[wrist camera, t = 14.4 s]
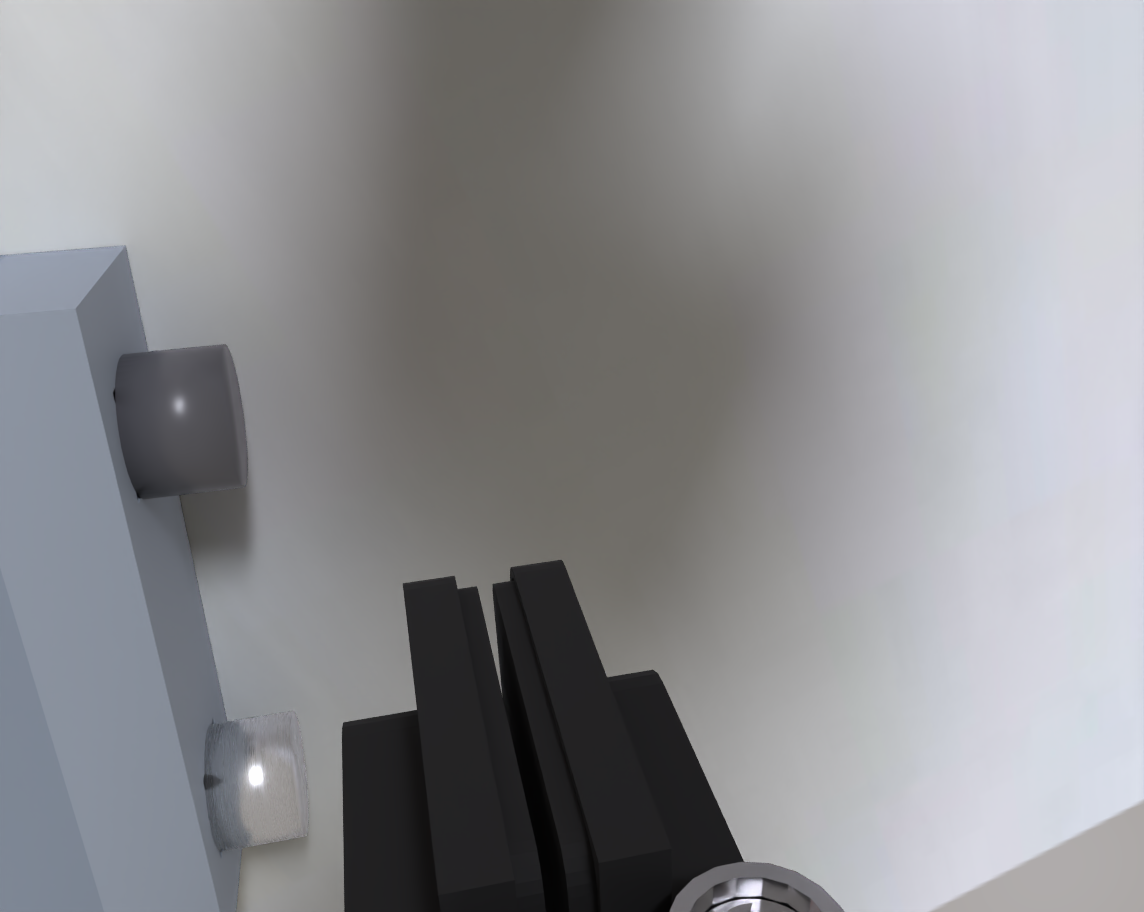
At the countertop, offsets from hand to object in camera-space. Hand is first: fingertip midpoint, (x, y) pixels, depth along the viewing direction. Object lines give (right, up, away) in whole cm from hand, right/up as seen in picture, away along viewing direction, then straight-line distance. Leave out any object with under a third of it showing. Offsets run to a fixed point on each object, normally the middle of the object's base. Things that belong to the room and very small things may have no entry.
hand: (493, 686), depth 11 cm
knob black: (-13, +4, +17) cm, 22 cm away
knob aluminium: (-13, -7, +22) cm, 27 cm away
